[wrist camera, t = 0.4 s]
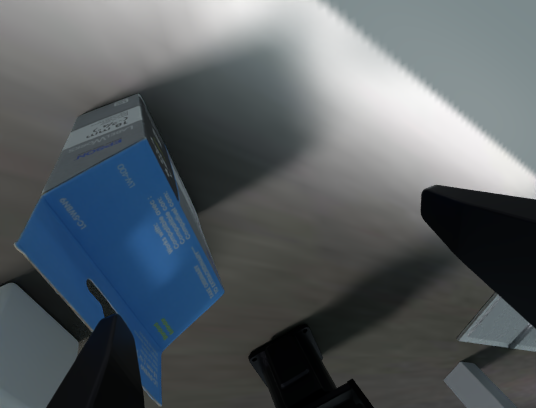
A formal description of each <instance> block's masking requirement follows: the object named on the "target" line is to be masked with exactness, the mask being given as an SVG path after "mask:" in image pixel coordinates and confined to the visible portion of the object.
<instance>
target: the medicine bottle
mask: <svg viewBox="0 0 536 408" xmlns="http://www.w3.org/2000/svg"><path fill="white" fill-rule="evenodd" d="M78 346H79V343H78V341H77V340H76V339H75V338H74V337H73V336H72V335H71V334H70V333H69V332H68V331H67V330H66V329H64V328H63V327H62V326H61V325H60V324H59V323H58V322H57V321H56V320H55V319H54V318H53V317H51V316H50V315H49V314H48V313H47V312H46V311H45V310H44V309H43V308H42V307H41V306H40V305H38V304H37V303H36V302H35V301H34V300H33V299H32V298H31V297H30V296H29V295H28V294H27V293H25V292H24V291H23V290H22V289H21V288H20V287H19V286H18V285H17V284H15V283H8V284H6V285H3V286H1V287H0V408H46V407H47V405H48V403H49V402H50V400H51V399H52V397H53V395H54V394H55V392H56V390H57V389H58V387H59V386H60V384H61V382H62V381H63V379H64V377H65V376H66V374H67V373H68V371H69V369H70V368H71V366H72V365H73V363H74V361H75V360H76V358H77V353H78Z"/></svg>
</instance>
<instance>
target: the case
mask: <svg viewBox="0 0 536 408" xmlns="http://www.w3.org/2000/svg"><path fill="white" fill-rule="evenodd" d="M456 339H457V340H458V341H464V342H471V343H478V344H485V345H493V346H500V347H507V348H508V347H509V348H511V349H521V350H529V351H536V329H535V328H534V327H533V326H532V325H531V324H530V323H529V322H527V321H526V320H525V319H524V318H523V317H522V316H521V315H520V314H519V313H518V312H517V311H515V310H514V309H513V308H512V307H511V306H510V305H509V304H508V303H507V302H506V301H505V300H503V299H502V298H501V297H500V296H499V295H498V294H497V293H496V292H495V293H494V294H493V295H492V297H491V298H490V299H489V300H488V301H487V303H486V304H485V305H484V306H483V307H482V309H481V310H480V311H479V312H478V313H477V314H476V316H475V317H474V318H473V319H472V320H471V322H470V323H469V324H468V325H467V326H466V328H465V329H464V330H463V331H462V332H461V333H460V335H459V336H458V337H457V338H456Z"/></svg>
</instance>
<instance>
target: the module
mask: <svg viewBox="0 0 536 408" xmlns="http://www.w3.org/2000/svg"><path fill="white" fill-rule="evenodd" d="M444 382H445V383H446V384H447V385H448V386H449V387H450V389H451V390H452V391H453V392H454V393H455V394H456V396H457V397H458V398H459V399H460V400H461V401H462V403H463V404H464V405H465V406H466V407H467V408H517V407H516V405H515V404H514V403H513V402H512V401H511V400H510V399H509V398H508V397H507V396H506V395H505V394H504V393H503V392H502V391H501V390H500V389H499V388H498V387H497V386H496V385H495V384H494V383H493V382H492V381H491V380H490V379H489V378H488V377H487V376H486V375H485V374H484V373H483V372H482V371H481V370H480V369H479V368H478V367H477V366H476V365H475V364H474V363H468V362H460V363H459V364H458V365H457V366H456V367H455V368H454V369H453V370H452V371H451V373H450V374H449V375H448V376H447V377H446V378H445V379H444Z"/></svg>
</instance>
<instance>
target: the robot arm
mask: <svg viewBox="0 0 536 408" xmlns="http://www.w3.org/2000/svg"><path fill="white" fill-rule="evenodd" d="M421 216H422V218H423V219H424V221H425V222H426V223H427V224H428V225H429V226H430V227H431V229H432V230H433V231H434V232H435V233H436V234H437V235H438V236H439V238H440V239H441V240H442V241H443V242H444V243H445V244H446V245H447V246H448V248H449V249H450V250H451V251H452V252H453V253H454V254H455V255H456V256H457V257H458V258H459V259H460V260H461V261H462V262H463V263H464V264H465V265H466V266H467V267H469V268H470V269H471V270H472V271H473V272H474V273H475V274H476V275H477V276H478V277H479V278H481V279H482V280H483V281H484V282H485V283H486V284H487V285H488V286H489V287H490V288H491V289H493V290H494V291H495V292H496V293H497V294H498V295H499V296H500V297H501V298H502V299H503V300H505V301H506V302H507V303H508V304H509V305H510V306H511V307H512V308H513V309H514V310H515V311H517V312H518V313H519V314H520V315H521V316H522V317H523V318H524V319H525V320H526V321H527V322H529V323H530V324H531V325H532V326H533V327H534V328H535V329H536V200H535V199H528V198H522V197H515V196H508V195H501V194H495V193H488V192H481V191H474V190H468V189H461V188H454V187H448V186H441V185H434V186H431V187H428V188H426V189H424V190H423V191H422V194H421ZM248 358H249V361H250V363H251V364H252V366H253V367H254V369H255V370H256V372H257V373H258V374H259V376H260V377H261V379H262V380H263V382H264V383H265V384H266V386H267V387H268V389H269V391H270V394H271V397H272V399H273V402H274V405H275V407H276V408H374V407H373V406H372V405H371V403H370V402H369V400H368V399H367V398H366V396H365V395H364V394H363V392H362V391H361V389H360V388H359V387H358V385H357V384H356V383H355V381H354V380H353V379H351V380H349V381H347V383H346V384H344V385H342V386H340V387H338V388H337V387H336V386H335V384H334V382H333V380H332V378H331V377H330V375H329V373H328V371H327V370H326V368H325V366H324V364H323V362H322V359H323V357H322V354H321V352H320V350H319V348H318V346H317V344H316V341H315V339H314V337H313V335H312V333H311V330H310V328H309V327H308V325H307V324H303V325H301V326H299V327H298V328H296V329H294V330H292V331H290V332H289V333H287V334H285V335H283V336H282V337H280V338H278V339H276V340H275V341H273V342H271V343H269V344H267V345H266V346H264V347H262V348H260V349H259V350H257V351H255V352H253V353H252V354H250V355H249V357H248ZM46 408H145V407H144V395H143V388H142V382H141V376H140V370H139V363H138V357H137V351H136V345H135V340H134V337H133V334H132V332H131V331H130V329H129V328H128V326H127V325H126V323H125V322H124V320H123V319H122V317H121V316H120V315H119V314H116V313H115V314H113V315H110V316H108V317H105V318H103V319H101V320H100V321H99V323H98V324H97V326H96V327H95V329H94V331H93V332H92V334H91V335H90V337H89V339H88V340H87V342H86V344H85V345H84V347H83V348H82V350H81V352H80V353H79V355H78V356H77V358H76V360H75V361H74V363H73V365H72V366H71V368H70V369H69V371H68V373H67V374H66V376H65V377H64V379H63V381H62V382H61V384H60V386H59V387H58V389H57V390H56V392H55V394H54V395H53V397H52V399H51V400H50V402H49V403H48V405H47V407H46Z"/></svg>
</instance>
